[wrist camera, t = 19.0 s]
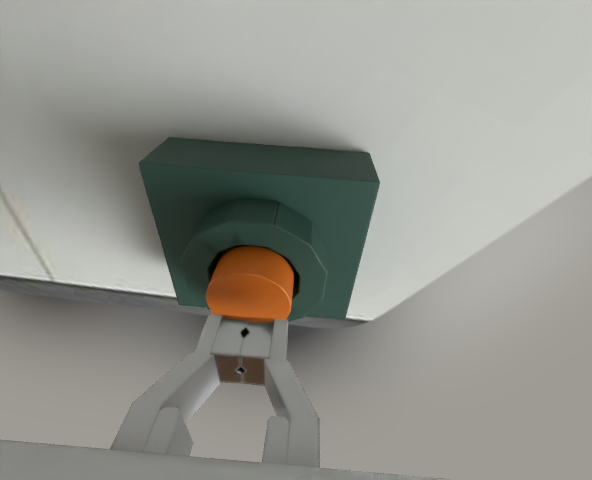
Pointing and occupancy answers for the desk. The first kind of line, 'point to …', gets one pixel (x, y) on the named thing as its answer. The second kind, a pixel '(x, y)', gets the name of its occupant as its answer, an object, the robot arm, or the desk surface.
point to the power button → (251, 284)
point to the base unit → (262, 214)
